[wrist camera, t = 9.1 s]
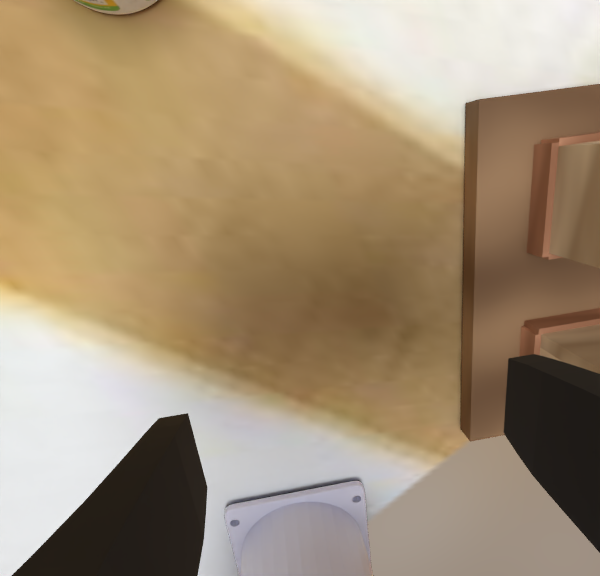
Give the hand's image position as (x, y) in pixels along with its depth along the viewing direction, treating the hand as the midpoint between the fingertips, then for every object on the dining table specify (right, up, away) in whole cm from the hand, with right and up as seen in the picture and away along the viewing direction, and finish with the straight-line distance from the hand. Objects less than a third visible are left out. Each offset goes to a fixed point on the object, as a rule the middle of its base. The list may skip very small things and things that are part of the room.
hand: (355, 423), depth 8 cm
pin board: (+12, +4, +11) cm, 16 cm away
